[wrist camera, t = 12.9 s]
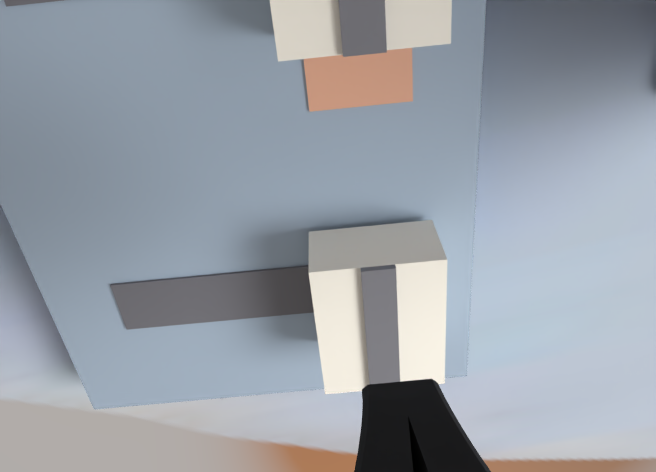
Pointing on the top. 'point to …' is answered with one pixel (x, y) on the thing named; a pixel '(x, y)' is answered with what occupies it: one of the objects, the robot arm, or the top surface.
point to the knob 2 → (379, 304)
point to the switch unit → (219, 183)
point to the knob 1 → (357, 26)
